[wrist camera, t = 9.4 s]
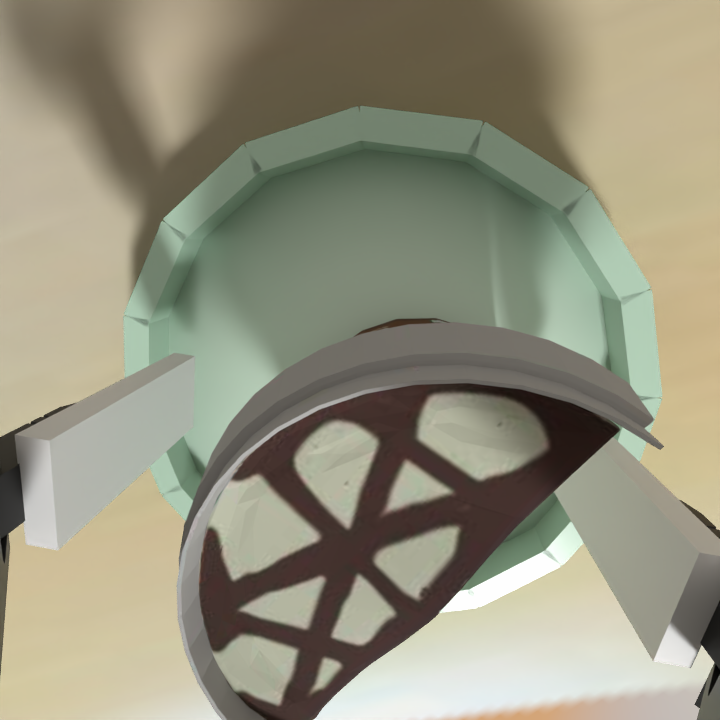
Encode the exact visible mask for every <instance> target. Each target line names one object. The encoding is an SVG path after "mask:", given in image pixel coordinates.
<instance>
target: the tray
mask: <svg viewBox="0 0 720 720" xmlns="http://www.w3.org/2000/svg"><path fill="white" fill-rule="evenodd" d="M482 124H483V121H482V120H473V119H465V118H457V117H449V116H441V115H433V114H425V113H417V112H408V111H400V110H392V109H384V108H376V107H368V106H360V111H359V108H358V106H356V107H353V108H349V109H346V110H343V111H340V112H337V113H334V114H331V115H328V116H325V117H322V118H319V119H316V120H313V121H310V122H307V123H304V124H301V125H298V126H294V127H291V128H288V129H285V130H282V131H279V132H276V133H273V134H270V135H267V136H264V137H261V138H258V139H255V140H252V141H249V142H246V143H245V144H246V145H244V144H242V145H241V146H240V147H239V148H238V149H237V150H236V151H235V152H234V153H233V154H232V155H231V156H230V157H228V158H227V159H226V160H225V161H224V162H223V163H222V164H221V165H220V166H219V167H218V168H217V169H216V170H215V171H214V172H212V173H211V174H210V175H209V176H208V177H207V178H206V179H205V180H204V181H203V182H202V183H201V184H200V185H199V186H198V187H196V188H195V189H194V190H193V191H192V192H191V193H190V194H189V195H188V196H187V197H186V198H185V199H184V200H183V201H182V202H181V203H179V204H178V205H177V206H176V207H175V208H174V209H173V210H172V211H171V212H170V213H169V214H168V215H167V216H166V217H165V218H163V220H164V221H161V224H160V226H159V229H158V231H157V234H156V236H155V239H154V241H153V244H152V246H151V248H150V251H149V253H148V256H147V258H146V261H145V263H144V266H143V268H142V271H141V273H140V275H139V278H138V280H137V283H136V285H135V288H134V290H133V293H132V295H131V297H130V300H129V302H128V305H127V307H126V310H125V312H124V314H125V316H123V318H124V362H125V378H126V377H128V376H130V375H132V374H134V373H136V372H138V371H140V370H142V369H144V368H146V367H147V366H149V365H151V364H153V363H155V362H157V361H159V360H161V359H163V358H165V357H167V356H169V355H171V354H173V353H179V354H185V355H191V356H195V380H194V419H193V428H192V429H190V430H189V431H188V432H187V433H186V434H185V435H184V436H183V437H182V438H181V439H179V440H178V441H177V442H176V443H175V444H174V445H173V446H172V447H171V448H170V449H169V450H167V451H166V452H165V453H164V454H163V455H162V456H161V457H160V458H159V459H158V460H156V461H155V462H154V463H153V464H152V465H151V466H150V469H151V472H152V474H153V477H154V479H155V481H156V484H157V486H158V488H159V491H160V493H161V494H163V495H162V496H163V497H164V499H165V500H166V501H167V502H168V503H169V504H170V505H171V506H172V507H173V508H174V509H175V510H176V511H177V512H178V514H179V515H180V516H181V517H182V518H183V519H184V520H185V521H186V519H187V516H188V514H189V511H190V508H191V506H192V503H193V500H194V497H195V495H196V492H197V489H198V487H199V484H200V482H201V479H202V477H203V474H204V472H205V469H206V467H207V464H208V461H209V459H210V456H211V454H212V452H213V450H214V449H215V447H216V445H217V444H218V442H219V440H220V438H221V437H222V435H223V433H224V432H225V430H226V428H227V427H228V425H229V423H230V422H231V421H232V420H233V418H234V417H235V416H236V415H237V414H238V413H239V411H240V410H241V409H242V408H243V407H244V406H245V404H246V403H247V402H248V401H249V400H250V399H251V398H252V396H253V395H254V394H255V393H257V392H258V391H259V390H260V389H261V388H263V387H264V386H265V385H266V384H268V383H269V382H270V381H271V380H272V379H274V378H275V377H276V376H277V375H279V374H280V373H281V372H282V371H284V370H285V369H286V368H288V367H290V366H292V365H293V364H295V363H297V362H299V361H301V360H302V359H304V358H306V357H308V356H309V355H311V354H313V353H315V352H316V351H318V350H320V349H322V348H325V347H327V346H330V345H333V344H336V343H338V342H341V341H344V340H346V339H349V338H352V337H354V336H355V335H357V334H358V333H359V332H361V331H362V330H365V329H368V328H371V327H374V326H377V325H380V324H383V323H386V322H389V321H392V320H395V319H411V318H437V319H441V320H444V321H447V322H451V323H453V322H457V323H466V324H475V325H484V326H493V327H502V328H506V329H510V330H514V331H517V332H521V333H525V334H528V335H532V336H536V337H540V338H543V339H547V340H550V341H552V342H555V343H557V344H559V345H561V346H564V347H566V348H568V349H570V350H572V351H575V352H577V353H579V354H581V355H584V356H586V357H588V358H590V359H592V360H594V361H596V362H597V363H599V364H600V365H602V366H603V367H605V368H606V369H608V370H609V371H611V372H612V373H614V374H616V375H617V376H619V377H620V378H622V379H623V380H625V381H626V382H628V383H629V384H630V386H631V387H632V388H633V390H634V391H635V393H636V394H637V395H638V397H639V398H640V400H641V401H642V403H643V404H644V405H645V407H646V408H647V410H648V411H649V412H650V414H651V415H652V417H653V418H654V419H655V417H656V415H657V412H658V409H659V406H660V403H661V400H662V399H661V398H660V397H662V388H661V378H660V368H659V357H658V347H657V337H656V327H655V316H654V306H653V296H652V290H651V289H650V288H651V286H650V285H649V283H648V282H647V280H646V278H645V277H644V275H643V273H642V272H641V270H640V269H639V267H638V265H637V264H636V262H635V260H634V259H633V257H632V256H631V254H630V252H629V251H628V249H627V247H626V246H625V244H624V243H623V241H622V239H621V238H620V236H619V234H618V233H617V231H616V230H615V228H614V226H613V225H612V223H611V221H610V220H609V218H608V217H607V215H606V213H605V212H604V210H603V208H602V207H601V205H600V204H599V202H598V200H597V199H596V197H595V195H594V194H593V192H592V191H591V189H588V188H589V187H588V186H586V185H584V184H583V183H581V182H580V181H578V180H577V179H575V178H573V177H572V176H570V175H569V174H567V173H566V172H564V171H562V170H561V169H559V168H558V167H556V166H555V165H553V164H551V163H550V162H548V161H547V160H545V159H544V158H542V157H540V156H539V155H537V154H536V153H534V152H533V151H531V150H529V149H528V148H526V147H525V146H523V145H522V144H520V143H518V142H517V141H515V140H514V139H512V138H511V137H509V136H507V135H506V134H504V133H503V132H501V131H500V130H498V129H496V128H495V127H493V126H492V125H490V124H489V123H487V122H485V123H484V124H483V125H482ZM587 189H588V190H587ZM610 421H611V420H610ZM612 422H613V421H612ZM613 423H614V424H616V423H615V422H613ZM653 423H654V421H653V422H652V423H651V424H650V425H648V426H647V427H646V428H645V429H646V430H647V431H648V432H649V433H650V431H651V429H652V426H653ZM616 425H617V426H618V427H619V428H620V431H619V432H618V433H617V434H616V435H615V436H614V438H615V439H616V440H617V441H618V442H619V443H620V444H621V445H622V446H623V447H624V448H625V449H626V450H627V451H629V452H630V453H631V454H632V455H633V456H634V457H635V458H636V459H637V460H638V461H639V462H640V460H641V457H642V454H643V451H644V448H645V446H646V443H647V442H646V441H645V440H643V439H641V438H640V437H638V436H636V435H635V434H633V433H631V432H630V431H628V430H626V429H625V428H623V427H621V426H620V425H618V424H616ZM583 543H584V542H583V541H582V539H581V537H580V535H579V534H578V532H577V530H576V529H575V527H574V525H573V523H572V522H571V520H570V518H569V517H568V515H567V513H566V512H565V510H564V508H563V506H562V505H561V503H560V501H559V500H558V498H557V496H556V494H555V493H554V492H553V493H552V494H551V495H550V496H549V497H548V498H547V499H546V500H544V501H543V502H542V503H541V504H540V505H539V506H538V507H537V508H536V509H535V510H534V511H533V512H532V513H531V514H530V515H529V516H527V517H526V518H525V519H524V520H523V521H522V522H521V523H520V524H519V525H518V526H517V527H516V528H515V529H514V530H513V531H512V532H511V533H510V535H509V536H508V537H507V538H506V539H505V540H504V541H503V542H502V543H501V544H500V545H499V546H498V548H497V549H496V550H495V551H494V552H493V553H492V554H491V555H490V556H489V557H488V559H487V560H486V561H485V562H484V563H483V564H482V566H481V567H480V568H479V569H478V570H477V571H476V573H475V574H474V575H473V576H472V577H471V578H470V580H469V581H468V582H467V583H466V584H465V585H464V587H463V588H462V589H461V590H460V591H459V592H458V593H457V594H456V595H455V596H454V597H453V599H452V600H451V601H450V602H449V603H448V604H447V605H446V606H445V607H444V608H443V609H442V610H441V611H440V612H439V613H443V612H450V611H458V610H466V609H473V608H478V607H477V605H478V606H479V607H481V606H483V605H485V604H487V603H489V602H491V601H493V600H495V599H497V598H499V597H501V596H503V595H505V594H507V593H509V592H511V591H513V590H515V589H517V588H519V587H521V586H523V585H525V584H527V583H529V582H531V581H533V580H535V579H537V578H539V577H541V576H543V575H545V574H547V573H549V572H551V571H553V570H555V569H557V568H559V567H561V564H562V565H564V564H565V563H566V561H567V560H568V559H569V558H570V557H571V556H572V555H573V554H574V553H575V552H576V551H577V550H578V548H579V547H580V546H581V545H582V544H583Z"/></svg>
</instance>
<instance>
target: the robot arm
mask: <svg viewBox="0 0 720 720" xmlns="http://www.w3.org/2000/svg"><path fill="white" fill-rule="evenodd" d="M194 380H195V356H191V355H185V354H179V353H173V354H171V355H169V356H167V357H165V358H163V359H161V360H159V361H157V362H155V363H153V364H151V365H149V366H147V367H146V368H144V369H142V370H140V371H138V372H136V373H134V374H132V375H130V376H128V377H126V378H124V379H122V380H120V381H118V382H116V383H114V384H112V385H110V386H109V387H107V388H105V389H103V390H101V391H99V392H97V393H95V394H93V395H91V396H89V397H87V398H85V399H83V400H81V401H79V402H77V403H74V404H70V405H66V406H63V407H59V408H57V409H55V410H53V411H51V412H49V413H47V414H45V415H44V417H39V418H37V419H35V420H33V421H31V424H26V425H24V426H22V427H20V428H18V429H16V430H14V431H12V432H10V433H8V434H6V435H4V436H2V437H0V673H1V660H2V647H3V633H4V620H5V607H6V593H7V580H8V566H9V553H10V543H9V534H8V533H10V532H11V531H12V530H14V529H15V528H16V527H18V526H19V525H20V524H22V523H23V522H24V531H25V540H26V544H27V545H32V546H37V547H43V548H48V549H53V550H59V549H60V548H61V547H62V546H63V545H64V544H65V543H67V542H68V541H69V540H70V539H71V538H72V537H73V536H74V535H75V534H76V533H78V532H79V531H80V530H81V529H82V528H83V527H84V526H85V525H86V524H87V523H89V522H90V521H91V520H92V519H93V518H94V517H95V516H96V515H97V514H98V513H99V512H101V511H102V510H103V509H104V508H105V507H106V506H107V505H108V504H109V503H110V502H112V501H113V500H114V499H115V498H116V497H117V496H118V495H119V494H120V493H121V492H122V491H124V490H125V489H126V488H127V487H128V486H129V485H130V484H131V483H132V482H133V481H135V480H136V479H137V478H138V477H139V476H140V475H141V474H142V473H143V472H144V471H145V470H147V469H148V468H149V467H150V466H151V465H152V464H153V463H154V462H155V461H156V460H158V459H159V458H160V457H161V456H162V455H163V454H164V453H165V452H166V451H167V450H169V449H170V448H171V447H172V446H173V445H174V444H175V443H176V442H177V441H178V440H179V439H181V438H182V437H183V436H184V435H185V434H186V433H187V432H188V431H189V430H190V429H192V428H193V419H194ZM554 493H555V494H556V496H557V498H558V500H559V501H560V503H561V505H562V506H563V508H564V510H565V512H566V513H567V515H568V517H569V518H570V520H571V522H572V523H573V525H574V527H575V529H576V530H577V532H578V534H579V535H580V537H581V539H582V541H583V542H584V544H585V546H586V547H587V549H588V551H589V552H590V554H591V556H592V558H593V559H594V561H595V563H596V564H597V566H598V568H599V570H600V571H601V573H602V575H603V576H604V578H605V580H606V581H607V583H608V585H609V587H610V588H611V590H612V592H613V593H614V595H615V597H616V599H617V600H618V602H619V604H620V605H621V607H622V609H623V610H624V612H625V614H626V616H627V617H628V619H629V621H630V622H631V624H632V626H633V628H634V629H635V631H636V633H637V634H638V636H639V638H640V639H641V641H642V643H643V645H644V646H645V648H646V650H647V651H648V653H649V655H650V657H651V658H652V660H653V661H655V662H660V663H666V664H671V665H677V666H682V667H687V668H691V667H692V665H693V662H694V660H695V658H696V656H697V654H698V652H699V649H700V647H701V645H702V646H703V647H704V648H705V650H706V651H707V653H708V654H709V655H710V657H711V658H712V659H713V661H714V662H715V663H714V665H713V667H712V669H711V672H710V674H709V676H708V678H707V680H706V682H705V684H704V686H703V688H702V690H701V692H700V694H699V697H698V699H697V701H696V703H695V705H696V706H697V707H699V708H700V710H699V714H698V718H697V720H720V530H717V529H716V527H715V526H714V525H713V524H712V523H711V522H710V521H709V520H708V519H707V518H706V517H705V516H704V515H702V514H701V513H700V512H698V511H697V510H695V509H694V508H692V507H690V506H689V505H687V504H686V503H684V502H683V501H681V500H678V499H677V498H676V497H675V496H674V495H673V494H672V493H671V492H670V491H669V490H668V489H667V488H666V487H665V486H664V485H663V484H662V483H661V482H660V481H659V480H658V479H657V478H656V477H655V476H653V475H652V474H651V473H650V472H649V471H648V470H647V469H646V468H645V467H644V466H643V465H642V464H641V463H640V462H639V461H638V460H637V459H636V458H635V457H634V456H633V455H632V454H631V453H630V452H629V451H627V450H626V449H625V448H624V447H623V446H622V445H621V444H620V443H619V442H618V441H617V440H616V439H615V438H614V437H613V438H611V439H610V440H609V441H608V442H607V443H606V444H605V445H604V446H603V447H602V448H600V449H599V450H598V451H597V452H596V453H595V454H594V455H593V456H592V457H591V458H590V459H588V460H587V461H586V462H585V463H584V464H583V465H582V466H581V467H580V468H579V469H578V470H576V471H575V472H574V473H573V474H572V475H571V476H570V477H569V478H568V479H567V480H566V481H565V482H564V483H563V484H562V485H560V486H559V487H558V488H557V489H556V490H555V491H554Z"/></svg>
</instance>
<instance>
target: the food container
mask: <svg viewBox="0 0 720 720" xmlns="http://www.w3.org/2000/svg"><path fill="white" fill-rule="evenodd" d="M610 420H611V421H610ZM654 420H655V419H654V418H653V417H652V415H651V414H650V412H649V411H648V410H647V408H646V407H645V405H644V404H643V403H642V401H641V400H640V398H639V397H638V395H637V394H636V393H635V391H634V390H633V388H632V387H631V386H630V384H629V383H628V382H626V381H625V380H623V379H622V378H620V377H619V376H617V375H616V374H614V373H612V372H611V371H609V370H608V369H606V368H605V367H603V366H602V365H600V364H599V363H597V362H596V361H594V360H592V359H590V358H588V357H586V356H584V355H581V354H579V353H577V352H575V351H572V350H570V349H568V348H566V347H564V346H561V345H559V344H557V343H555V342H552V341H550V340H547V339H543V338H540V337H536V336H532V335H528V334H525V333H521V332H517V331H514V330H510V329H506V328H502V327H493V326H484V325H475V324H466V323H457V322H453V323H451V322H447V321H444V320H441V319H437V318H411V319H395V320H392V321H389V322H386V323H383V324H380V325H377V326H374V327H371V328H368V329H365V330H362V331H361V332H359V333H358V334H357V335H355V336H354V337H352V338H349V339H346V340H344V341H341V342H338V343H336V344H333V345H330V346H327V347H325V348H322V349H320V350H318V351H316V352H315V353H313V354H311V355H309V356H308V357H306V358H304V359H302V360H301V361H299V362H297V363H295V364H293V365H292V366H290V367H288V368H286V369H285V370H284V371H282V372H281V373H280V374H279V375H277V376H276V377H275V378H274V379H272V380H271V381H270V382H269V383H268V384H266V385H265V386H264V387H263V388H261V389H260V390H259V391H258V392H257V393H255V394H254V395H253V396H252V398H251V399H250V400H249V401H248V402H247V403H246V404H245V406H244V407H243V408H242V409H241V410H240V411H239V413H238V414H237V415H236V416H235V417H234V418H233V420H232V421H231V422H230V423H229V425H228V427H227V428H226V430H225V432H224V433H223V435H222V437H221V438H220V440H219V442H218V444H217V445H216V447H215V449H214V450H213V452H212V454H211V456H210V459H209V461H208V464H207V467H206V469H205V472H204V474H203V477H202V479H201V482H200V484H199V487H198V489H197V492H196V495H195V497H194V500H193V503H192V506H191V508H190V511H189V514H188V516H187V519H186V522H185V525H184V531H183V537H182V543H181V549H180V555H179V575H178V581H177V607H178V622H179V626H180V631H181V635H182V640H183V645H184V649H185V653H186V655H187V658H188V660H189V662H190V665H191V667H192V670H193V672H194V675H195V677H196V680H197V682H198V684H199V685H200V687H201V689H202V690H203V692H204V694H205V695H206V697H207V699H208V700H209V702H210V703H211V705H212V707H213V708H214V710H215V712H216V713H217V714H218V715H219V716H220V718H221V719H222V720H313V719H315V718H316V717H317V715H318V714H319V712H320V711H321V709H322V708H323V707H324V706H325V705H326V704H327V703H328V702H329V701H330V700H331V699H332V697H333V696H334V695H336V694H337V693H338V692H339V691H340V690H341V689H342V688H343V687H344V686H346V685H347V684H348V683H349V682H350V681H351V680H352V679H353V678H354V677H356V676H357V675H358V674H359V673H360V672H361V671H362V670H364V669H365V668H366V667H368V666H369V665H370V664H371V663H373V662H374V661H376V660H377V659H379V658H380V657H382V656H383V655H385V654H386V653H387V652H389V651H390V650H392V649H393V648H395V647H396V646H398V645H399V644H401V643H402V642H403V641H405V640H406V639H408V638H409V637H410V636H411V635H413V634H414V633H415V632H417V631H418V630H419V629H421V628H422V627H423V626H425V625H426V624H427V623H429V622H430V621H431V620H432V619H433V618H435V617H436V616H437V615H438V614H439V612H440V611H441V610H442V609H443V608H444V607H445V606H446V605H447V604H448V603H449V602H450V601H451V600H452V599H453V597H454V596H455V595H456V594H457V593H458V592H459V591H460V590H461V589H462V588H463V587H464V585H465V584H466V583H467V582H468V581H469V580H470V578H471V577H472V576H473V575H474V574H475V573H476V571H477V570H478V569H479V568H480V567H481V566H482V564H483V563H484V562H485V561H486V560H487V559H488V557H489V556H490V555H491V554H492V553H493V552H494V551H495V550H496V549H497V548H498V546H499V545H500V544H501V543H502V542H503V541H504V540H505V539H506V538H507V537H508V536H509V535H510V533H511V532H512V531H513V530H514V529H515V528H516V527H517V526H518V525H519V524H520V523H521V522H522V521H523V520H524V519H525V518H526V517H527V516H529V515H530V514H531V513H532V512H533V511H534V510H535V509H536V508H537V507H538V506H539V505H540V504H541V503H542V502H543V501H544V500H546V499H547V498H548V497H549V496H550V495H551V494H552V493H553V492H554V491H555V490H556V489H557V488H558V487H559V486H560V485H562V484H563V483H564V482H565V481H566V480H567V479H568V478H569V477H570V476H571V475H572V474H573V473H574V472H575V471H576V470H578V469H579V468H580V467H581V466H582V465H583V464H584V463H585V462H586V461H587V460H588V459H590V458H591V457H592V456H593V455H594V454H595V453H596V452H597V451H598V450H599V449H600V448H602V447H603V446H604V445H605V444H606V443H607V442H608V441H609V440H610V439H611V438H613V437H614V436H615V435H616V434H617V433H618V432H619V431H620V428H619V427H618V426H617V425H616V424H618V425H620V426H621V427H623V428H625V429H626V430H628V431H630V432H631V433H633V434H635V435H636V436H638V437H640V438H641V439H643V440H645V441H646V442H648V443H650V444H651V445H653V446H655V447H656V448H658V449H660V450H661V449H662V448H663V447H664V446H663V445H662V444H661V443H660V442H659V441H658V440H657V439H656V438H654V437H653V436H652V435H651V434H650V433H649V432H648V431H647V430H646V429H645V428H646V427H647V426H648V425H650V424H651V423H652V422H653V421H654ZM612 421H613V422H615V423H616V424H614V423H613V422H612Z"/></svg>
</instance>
